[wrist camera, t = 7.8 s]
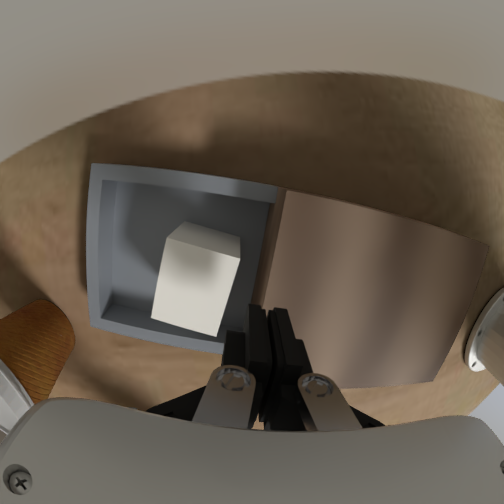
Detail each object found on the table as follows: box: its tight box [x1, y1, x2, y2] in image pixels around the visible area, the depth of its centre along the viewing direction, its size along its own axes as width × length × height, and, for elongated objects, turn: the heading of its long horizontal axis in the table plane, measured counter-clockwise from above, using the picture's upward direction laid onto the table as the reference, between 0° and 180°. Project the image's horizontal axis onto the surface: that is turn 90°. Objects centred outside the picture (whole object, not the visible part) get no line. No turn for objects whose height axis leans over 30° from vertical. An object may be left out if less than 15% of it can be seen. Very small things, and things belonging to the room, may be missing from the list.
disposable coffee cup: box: [0, 299, 75, 434], centre depth 16 cm, size 10×10×12 cm
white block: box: [151, 221, 240, 337], centre depth 17 cm, size 5×5×4 cm
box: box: [86, 163, 278, 354], centre depth 18 cm, size 12×12×3 cm
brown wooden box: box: [251, 185, 489, 389], centre depth 18 cm, size 16×12×6 cm
